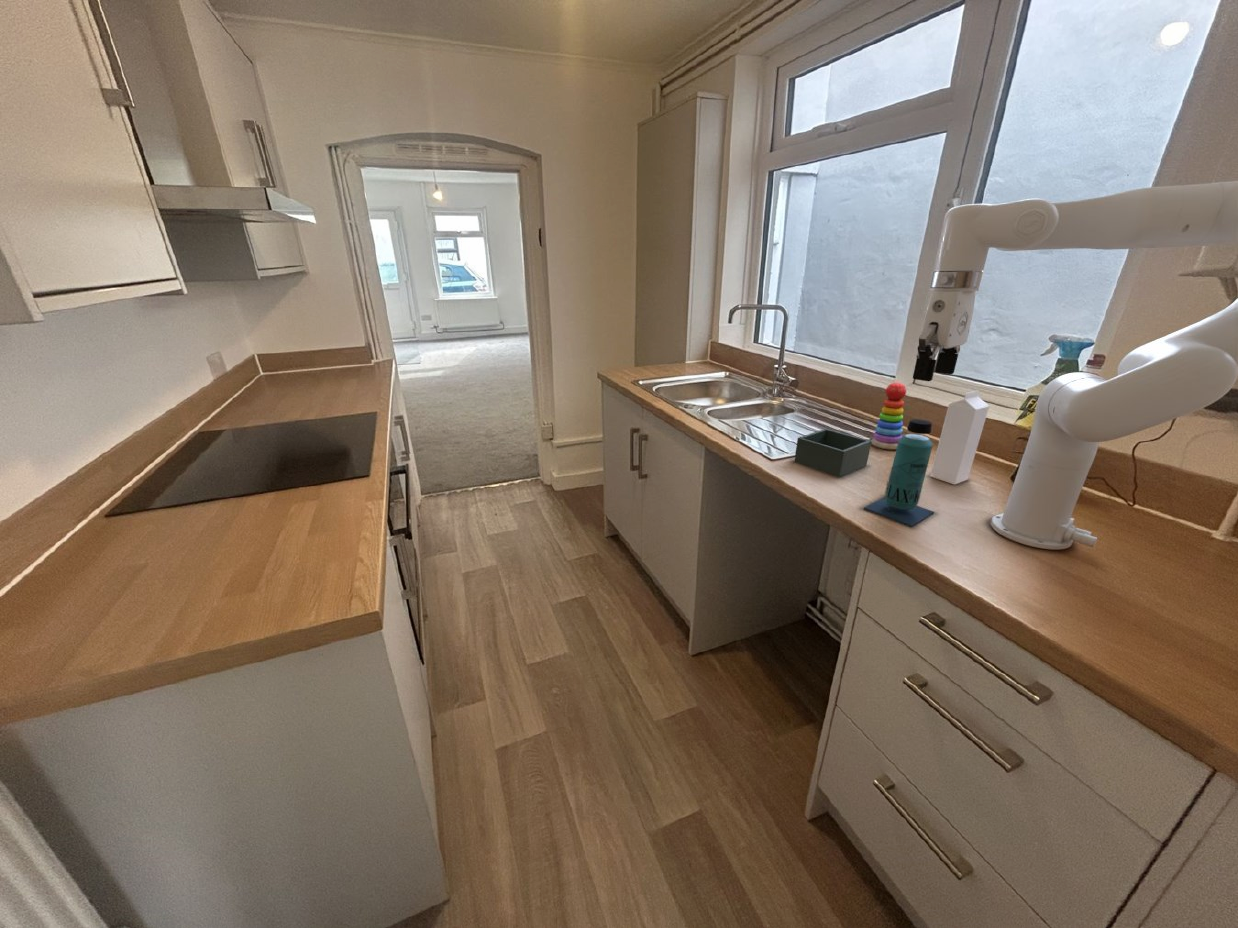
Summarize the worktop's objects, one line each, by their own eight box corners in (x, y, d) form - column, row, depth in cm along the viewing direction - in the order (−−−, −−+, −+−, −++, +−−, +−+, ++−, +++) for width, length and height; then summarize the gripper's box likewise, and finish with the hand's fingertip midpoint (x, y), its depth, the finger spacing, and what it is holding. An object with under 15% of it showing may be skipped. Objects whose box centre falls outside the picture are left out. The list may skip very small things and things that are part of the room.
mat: (933, 513, 103) (934, 511, 103) (911, 527, 97) (912, 525, 97) (886, 496, 110) (886, 495, 110) (863, 509, 105) (864, 507, 105)
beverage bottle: (874, 505, 106) (894, 417, 98) (898, 501, 108) (919, 414, 100) (899, 518, 100) (921, 427, 92) (924, 514, 102) (948, 423, 94)
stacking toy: (894, 441, 145) (907, 380, 138) (906, 451, 138) (921, 386, 131) (866, 441, 146) (879, 379, 139) (877, 450, 138) (890, 386, 131)
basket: (866, 465, 128) (871, 440, 125) (839, 477, 120) (844, 451, 118) (821, 451, 137) (825, 428, 135) (794, 462, 130) (797, 437, 128)
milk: (929, 476, 121) (951, 390, 113) (943, 471, 124) (965, 387, 116) (955, 485, 116) (979, 395, 108) (968, 479, 119) (993, 392, 111)
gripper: (959, 283, 79) (935, 386, 85) (997, 281, 89) (972, 373, 95) (910, 283, 85) (891, 379, 91) (951, 280, 94) (931, 368, 101)
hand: (933, 376), depth 93 cm, fingers open, 9 cm apart
